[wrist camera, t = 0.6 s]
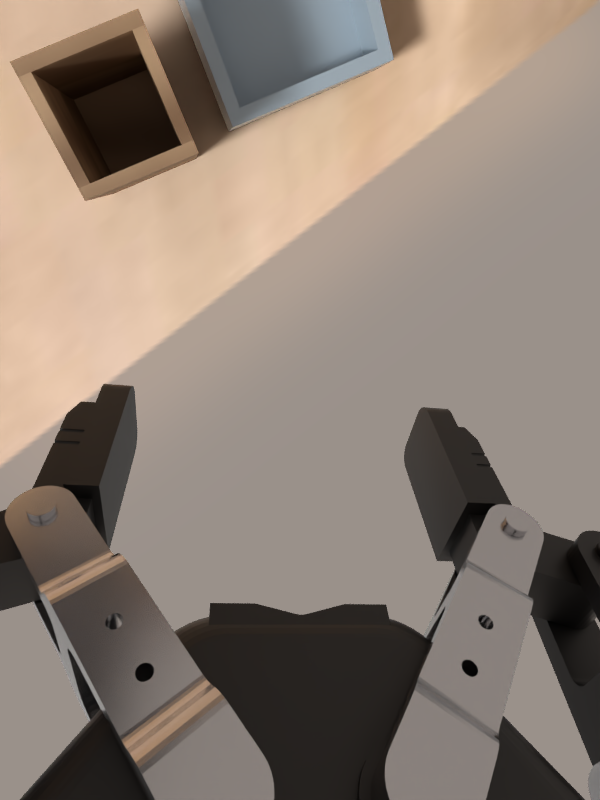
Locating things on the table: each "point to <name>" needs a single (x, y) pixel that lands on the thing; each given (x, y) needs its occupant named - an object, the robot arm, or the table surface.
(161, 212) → the table surface
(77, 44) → the walnut crate
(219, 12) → the blue crate
